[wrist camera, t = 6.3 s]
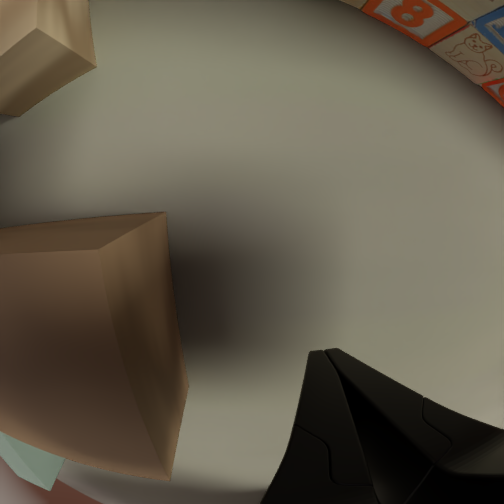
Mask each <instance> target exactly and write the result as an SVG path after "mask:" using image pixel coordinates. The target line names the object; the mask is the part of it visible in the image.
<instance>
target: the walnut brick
mask: <svg viewBox="0 0 504 504" xmlns="http://www.w3.org/2000/svg"><path fill="white" fill-rule="evenodd" d="M188 388H189V384H188V379H187V374H186V368H185V363H184V357H183V351H182V345H181V339H180V333H179V326H178V319H177V312H176V305H175V298H174V290H173V281H172V273H171V263H170V254H169V243H168V231H167V218H166V212H157V213H142V214H129V215H117V216H105V217H94V218H83V219H73V220H64V221H55V222H46V223H37V224H29V225H21V226H14V227H7V228H0V431H1V432H3V433H5V434H7V435H9V436H11V437H13V438H15V439H17V440H19V441H22V442H24V443H26V444H29V445H31V446H33V447H36V448H38V449H41V450H43V451H46V452H49V453H51V454H54V455H57V456H60V457H63V458H66V459H69V460H72V461H75V462H79V463H82V464H85V465H89V466H93V467H97V468H100V469H104V470H109V471H113V472H118V473H122V474H127V475H133V476H138V477H144V478H150V479H157V480H165V481H170V478H171V473H172V467H173V462H174V457H175V452H176V447H177V441H178V436H179V431H180V426H181V422H182V417H183V412H184V407H185V402H186V398H187V393H188Z"/></svg>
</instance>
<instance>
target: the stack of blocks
mask: <svg viewBox="0 0 504 504" xmlns="http://www.w3.org/2000/svg"><path fill="white" fill-rule="evenodd" d="M340 1H342V2H344V3H347V4H349V5H351V6H354V7H356V8H358V9H360V10H361V11H363V12H364V13H366V14H368V15H370V16H372V17H374V18H376V19H378V20H380V21H382V22H384V23H386V24H388V25H389V26H391V27H393V28H395V29H397V30H399V31H400V32H402V33H404V34H406V35H407V36H409V37H411V38H412V39H414V40H415V41H417V42H419V43H420V44H422V45H423V46H426V47H428V48H429V49H430V50H431V51H432V52H434V53H435V54H437V55H438V56H439V57H441V58H442V59H443V60H445V61H446V62H448V63H449V64H451V65H452V66H453V67H455V68H456V69H457V70H458V71H460V72H461V73H462V74H464V75H465V76H466V77H467V78H469V79H470V80H471V81H472V82H474V83H475V84H478V85H480V86H481V87H482V88H483V89H484V90H485V91H486V92H488V93H489V94H490V95H491V96H492V97H494V98H495V99H496V101H497V102H498V103H500V104H501V105H502V106H503V107H504V0H340Z"/></svg>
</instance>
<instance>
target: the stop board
mask: <svg viewBox="0 0 504 504" xmlns="http://www.w3.org/2000/svg"><path fill="white" fill-rule="evenodd" d="M0 456H1V457H2V458H3V459H4V460H5V462H6V463H7V464H8V465H9V466H10V468H11V469H12V470H13V471H14V472H15V473H16V474H17V475H18V476H19V477H21V478H23V479H25V480H27V481H29V482H31V483H33V484H35V485H37V486H39V487H42V488H44V489H46V490H49V491H50V490H51V488H52V486H53V484H54V482H55V479H56V477H57V475H58V473H59V471H60V469H61V467H62V465H63V463H64V461H65V459H66V458H63V457H60V456H57V455H54V454H51V453H49V452H46V451H43V450H41V449H38V448H36V447H33V446H31V445H29V444H26V443H24V442H22V441H19V440H17V439H15V438H13V437H11V436H9V435H7V434H5V433H3V432H1V431H0Z"/></svg>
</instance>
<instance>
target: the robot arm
mask: <svg viewBox="0 0 504 504" xmlns="http://www.w3.org/2000/svg"><path fill="white" fill-rule="evenodd" d="M260 504H504V429H500V428H497V427H495V426H492V425H489V424H486V423H483V422H481V421H478V420H475V419H472V418H470V417H467V416H465V415H462V414H460V413H457V412H455V411H453V410H450V409H448V408H446V407H444V406H442V405H440V404H438V403H436V402H434V401H432V400H430V399H428V398H426V397H424V398H423V396H422V395H420V394H419V393H417V392H415V391H413V390H411V389H409V388H408V387H406V386H404V385H402V384H400V383H398V382H397V381H395V380H393V379H391V378H389V377H388V376H386V375H384V374H382V373H380V372H379V371H377V370H375V369H373V368H372V367H370V366H368V365H366V364H365V363H363V362H361V361H359V360H358V359H356V358H354V357H352V356H351V355H349V354H347V353H345V352H344V351H342V350H340V349H338V348H332V349H325V350H324V351H323V350H316V351H310V352H309V354H308V360H307V365H306V370H305V375H304V380H303V384H302V389H301V394H300V398H299V403H298V407H297V412H296V416H295V420H294V424H293V428H292V432H291V436H290V439H289V443H288V446H287V449H286V452H285V454H284V457H283V459H282V461H281V464H280V466H279V468H278V470H277V472H276V474H275V476H274V478H273V480H272V482H271V484H270V486H269V487H268V489H267V491H266V493H265V495H264V497H263V498H262V500H261V502H260Z"/></svg>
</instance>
